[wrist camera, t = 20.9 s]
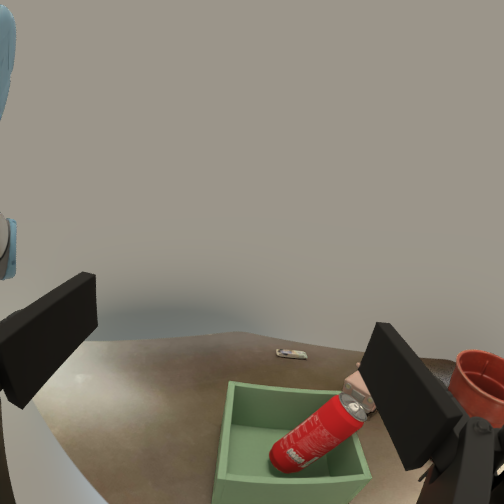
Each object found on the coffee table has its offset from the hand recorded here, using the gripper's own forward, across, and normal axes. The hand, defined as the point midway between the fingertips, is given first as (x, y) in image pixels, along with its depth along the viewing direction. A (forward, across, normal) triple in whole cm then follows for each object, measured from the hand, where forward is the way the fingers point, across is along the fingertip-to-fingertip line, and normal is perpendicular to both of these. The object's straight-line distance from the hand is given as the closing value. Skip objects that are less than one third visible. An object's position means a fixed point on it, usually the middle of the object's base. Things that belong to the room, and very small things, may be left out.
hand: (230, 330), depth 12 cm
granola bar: (+40, +14, -28) cm, 51 cm away
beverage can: (+11, +9, -25) cm, 29 cm away
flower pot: (+11, +40, -28) cm, 50 cm away
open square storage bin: (+11, +9, -27) cm, 31 cm away
